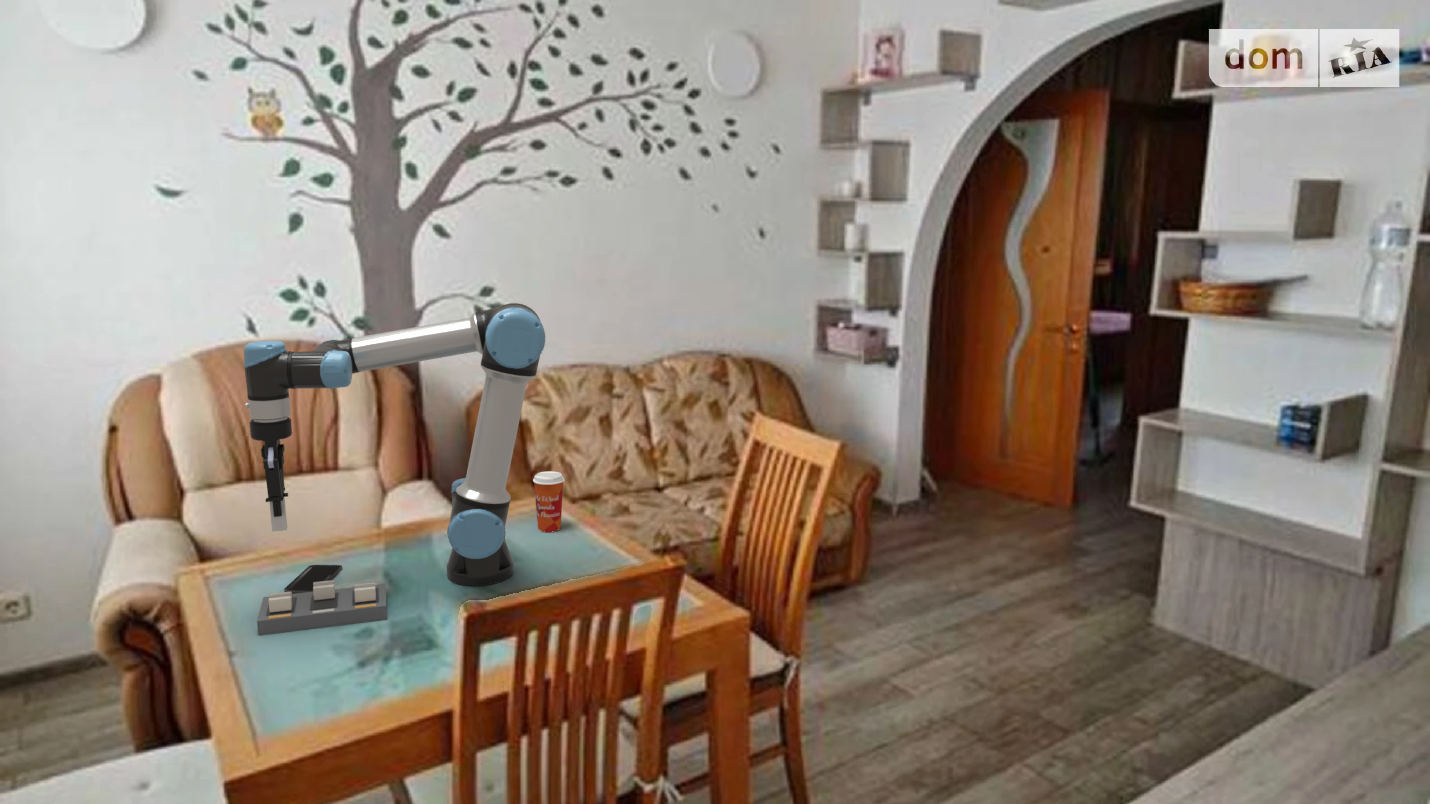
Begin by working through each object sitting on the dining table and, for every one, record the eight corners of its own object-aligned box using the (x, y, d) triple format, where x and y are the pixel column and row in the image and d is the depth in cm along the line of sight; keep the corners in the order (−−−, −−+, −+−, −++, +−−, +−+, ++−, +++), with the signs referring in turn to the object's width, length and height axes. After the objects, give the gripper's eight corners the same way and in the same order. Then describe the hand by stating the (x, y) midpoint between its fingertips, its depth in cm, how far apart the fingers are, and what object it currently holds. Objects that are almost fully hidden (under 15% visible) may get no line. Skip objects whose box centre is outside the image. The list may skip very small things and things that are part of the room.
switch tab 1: (292, 604, 186) (291, 589, 185) (291, 609, 183) (290, 595, 183) (270, 606, 185) (269, 591, 184) (269, 612, 182) (268, 597, 181)
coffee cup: (529, 532, 240) (528, 478, 237) (540, 522, 248) (539, 469, 245) (559, 535, 239) (558, 480, 236) (569, 524, 247) (569, 471, 244)
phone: (282, 590, 199) (310, 564, 213) (282, 595, 199) (310, 569, 214) (318, 591, 199) (344, 565, 214) (319, 595, 199) (344, 569, 214)
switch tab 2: (335, 592, 192) (334, 578, 192) (334, 597, 190) (333, 583, 189) (314, 594, 191) (313, 580, 190) (313, 600, 188) (312, 585, 187)
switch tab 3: (375, 594, 192) (374, 580, 191) (375, 600, 189) (375, 585, 188) (355, 596, 190) (354, 582, 190) (355, 602, 188) (354, 588, 187)
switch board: (385, 596, 199) (385, 583, 198) (387, 619, 188) (386, 605, 187) (264, 610, 190) (263, 596, 190) (258, 635, 179) (256, 620, 179)
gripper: (253, 412, 187) (262, 521, 192) (245, 426, 175) (256, 542, 180) (293, 410, 190) (301, 517, 195) (288, 424, 178) (297, 538, 183)
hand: (279, 529), depth 187 cm, fingers closed
